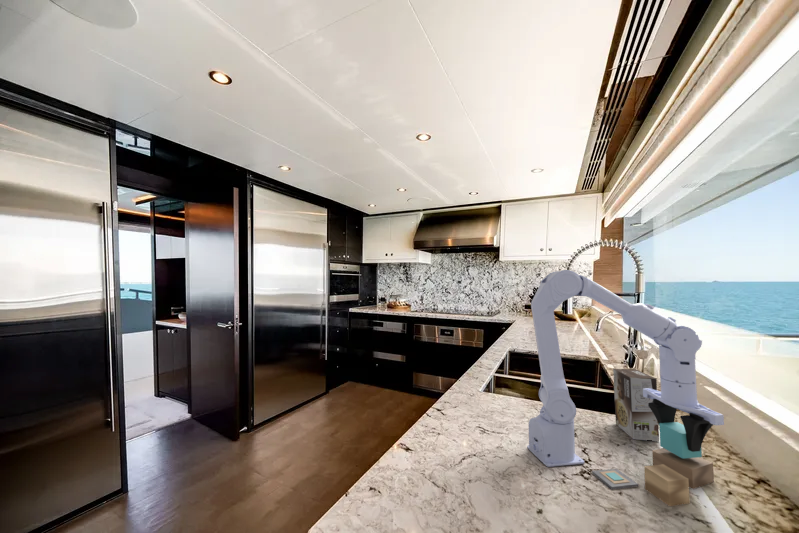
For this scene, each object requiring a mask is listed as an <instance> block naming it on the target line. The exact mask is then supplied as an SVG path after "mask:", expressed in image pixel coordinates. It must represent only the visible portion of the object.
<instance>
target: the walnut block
mask: <svg viewBox="0 0 799 533" xmlns="http://www.w3.org/2000/svg"><path fill="white" fill-rule="evenodd" d="M651 452H652V454H651V455H652V465H661V464H664V465H665V466H667V467H669V468H671V469H672V470H674V471H676V472H677V473H679V474H681V475H683V476H684V477H686V478H688V481H689V489H691V490H694V489H697V488H701V487H703V486H707V485H709V484H711V483H713V482H715V479H714V476H715V475H714V462H713V461H712V462H711V461H709V460H707V459H705V458H703V457H696V458H684V459H683V458H681V457H679V456H677V455H675V454H674V453H672V452H670V451H668V450H666V449H665V448H663V447H661V448H658V449H653V450H652V451H651Z"/></svg>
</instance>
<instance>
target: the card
mask: <svg viewBox="0 0 799 533" xmlns="http://www.w3.org/2000/svg"><path fill="white" fill-rule="evenodd" d="M591 474H593V475H594V476H595V477H596V478H597V479H598V480H600V482H602V483H604V485H606V486H607V487H608V488H609V489H611V491H612V490H620V489H629V488H638V487H639V483H637V482H636V480H635V481H634V480H633V479H632V478H631V477H629V476H627V475H626V474H625V473H623V472H622V471H621V470H619V469H618V468H610V469H609V468H608V469H599V470H598V469H597V470H592V471H591Z"/></svg>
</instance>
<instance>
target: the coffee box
mask: <svg viewBox="0 0 799 533" xmlns="http://www.w3.org/2000/svg"><path fill="white" fill-rule="evenodd" d="M612 371H613V372H612V373H613V391H614V392H613V393H614V394H613V395H614V410H615V411H614V412H615V425H616V424H617V427H619V428H620V429H621V430H622V431H623V432H624V433H626V434H627V435H628V436H629V437H630V438H631V439H633V440H638V441H639V440H641V441H647V440H652V441H651V442H656V441H659V442H660V427H659V424H658V421H657V419H656V417H655V415H654V414H653V412H652V410H651V409H650V408H649V406H648V403H651V402H652V401H653V399H651V398H645V397H643V389H645V388H651V389H653V390H657V391H658V385H657V382H658V380H657V378H655V377H654V376H651V375H649V374H647V373H645V372H642V371H641V370H639V369H633V368H613V369H612Z"/></svg>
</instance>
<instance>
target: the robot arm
mask: <svg viewBox="0 0 799 533" xmlns="http://www.w3.org/2000/svg"><path fill="white" fill-rule="evenodd" d="M575 296H578V297H585V298H586V297H587V298H590V299H591V300H593V301H595V302H597V303H598V304H601V305H602V306H604V307H606V308H608V309H610V310H612V311H613V312H615V313H617V314H618V315H619V314H620V315H621V318H622V321H623V323H624V324H625V325H627V326H629V327H630V328H632V329H634V330H636V331H638V332H639V333H640V334H642V335H644V336H646V337H648V338H649V339H651V340H652V341H653V342H654V343H655V344H656V345H657V346H658V353H659V375H660V376H659V381H660V382H659V383H660V390H658V389H657V390H653V389H651V388H645V389H643V397H645V398H651V399H653V401H652V402H651V403H648V406H649V408H650V409H651V410H652V412H653V414H654V415H655V417H656V419H657V421H658V424H659V423H669V422H675V418H676V414H677V411H678V410H679V411H681V412H684V413H687V414H688V415H680V417H679V418H680V419H681V422H682V424H683V425H684V428H685V431H686V439H687V446H688V450H690V451H692V452H696V451H700V449H702V445H703V442H704V439H705V437H706V435H707V433H708V432H709V430H710V429H711V428H712V427H713V426H724V425H725V420H724V419H725V415H724V414H722V413H720V412H718V411H715V410H712V409H711V408H708V407H707V406H705V405H703V404H701V403H699V400H698V394H697V393H698V392H697V391H698V390H697V372H696V371H697V370H696V369H697V368H696V357H697V356H696V354H697V352H698V351H699V350H701V349H700V348H701V347H702V345H703V340H702V339H700V337H699V335H698V334H697V332H696V331H695V330H694V329H692V328H691V327H689V326H685V325H681V324H680V325H679V324H677V323H676V322H677V320H676V319H675V318H674V317H670V316H668V317H667V316H666V315H663V314H661V313H659V312H658V311H656V310H654V308H655V306H653V305H651V304H649V303H642V302H638V303H630V302H628V300H625V299H624V298H622V297H620V296H619V295H617V294H615V293H614V292H612V291H611V290H609V289H608V288H606V287H604V286H603V285H600V284H599V283H597V282H596V281H594V280H592V279H591V278H588V277H586V276H585V275H581V274H578V273H577V272H575V271H573V270H569V269H563V270H560V271H559V270H556V271H553V272H550V273H549V274H547V275H546V276H545V277H544V278H543V279H542V280H541V281H540V284H539V285H538V288H537V290H536V292H535V294H534V296H533V298H532V300H531V302H530V308H531V315H532V321H533V328H534V334H535V340H536V341H535V342H536V347H537V348H536V349H537V354H538V361H539V367H540V374H541V375H540V388H539V390H538V397H539V400H540V402H541V403H542V406H541V408H540V410H539V414H538V415H536V416H535V417H532V418H531V417H530V419H529V420H528V444H527V447H526V448H527V449H528V451H530V452H531V453H532V454H533V455H534V456H535V457H536V458H537V459H538V460H540V462H542V463H543V465H545V466H546V467H548V468H550V467H551V468H552V467H560V466H561V467H562V466H571V465H583V464H585V460H584V459H583V458H581V457H580V456H579V455H578V454H576V450H575V449H576V445H575V441H576V440H575V418H576V416H577V407H576V405H575V403H574V402H573V400H572V398H571V397H570V393H569V389H568V386H567V383H566V378H565V375H564V370H563V362H562V356H561V349H560V344H559V336H558V332H557V324H556V317H555V310H557V308H558V307H559V306H561V305H562V303H563V302H565V301H567V300H569V299H571V298H572V297H575Z"/></svg>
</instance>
